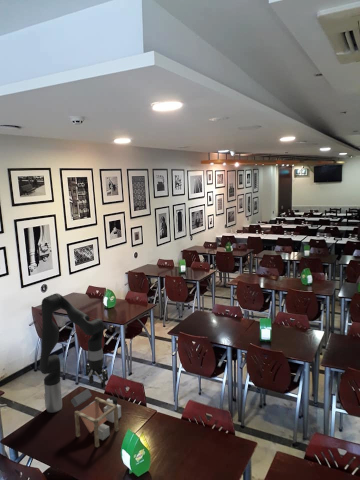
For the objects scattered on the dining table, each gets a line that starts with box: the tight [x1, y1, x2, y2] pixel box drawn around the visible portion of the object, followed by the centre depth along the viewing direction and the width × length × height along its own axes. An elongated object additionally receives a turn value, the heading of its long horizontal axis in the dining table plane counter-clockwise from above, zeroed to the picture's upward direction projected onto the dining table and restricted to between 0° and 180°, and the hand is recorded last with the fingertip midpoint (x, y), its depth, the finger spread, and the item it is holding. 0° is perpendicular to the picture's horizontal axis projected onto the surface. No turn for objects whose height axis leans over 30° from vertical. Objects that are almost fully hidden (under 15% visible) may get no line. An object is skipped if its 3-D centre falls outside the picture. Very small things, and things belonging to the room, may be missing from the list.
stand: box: [74, 396, 120, 448], centre depth 196 cm, size 16×16×14 cm
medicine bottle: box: [103, 396, 122, 424], centre depth 209 cm, size 7×7×12 cm
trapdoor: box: [70, 388, 107, 434], centre depth 198 cm, size 20×12×4 cm
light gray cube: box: [98, 423, 111, 441], centre depth 194 cm, size 5×5×5 cm
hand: (97, 385), depth 192 cm, fingers open, 8 cm apart
